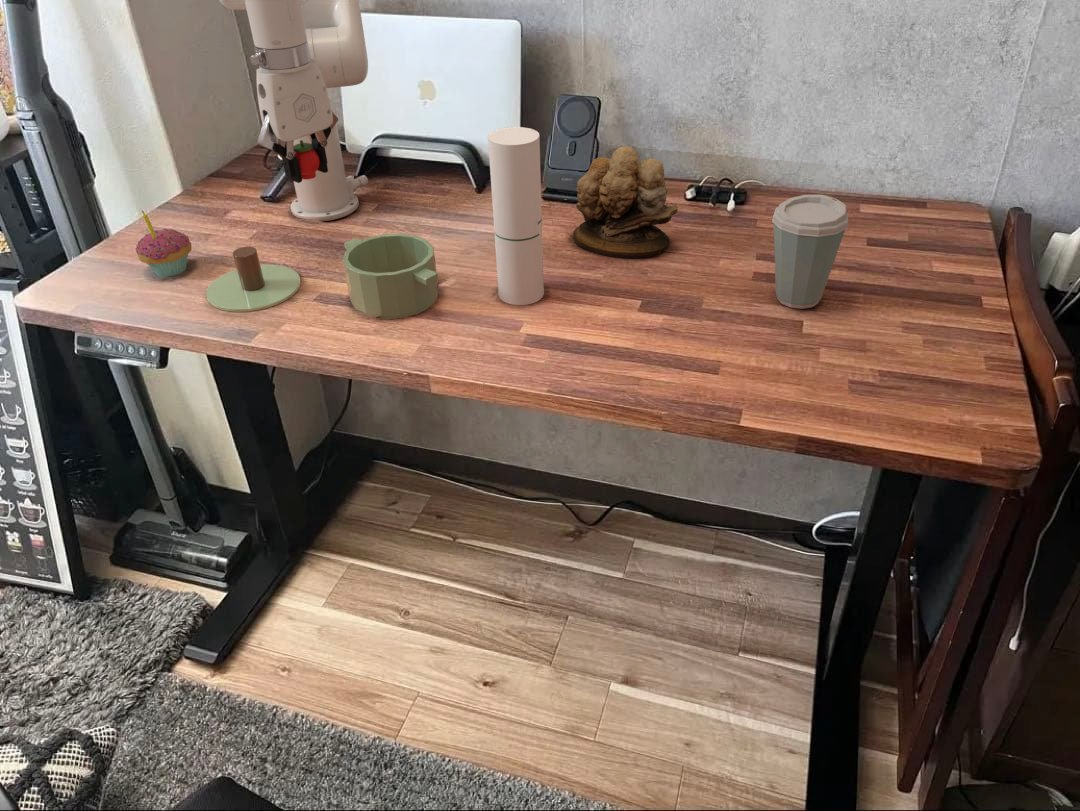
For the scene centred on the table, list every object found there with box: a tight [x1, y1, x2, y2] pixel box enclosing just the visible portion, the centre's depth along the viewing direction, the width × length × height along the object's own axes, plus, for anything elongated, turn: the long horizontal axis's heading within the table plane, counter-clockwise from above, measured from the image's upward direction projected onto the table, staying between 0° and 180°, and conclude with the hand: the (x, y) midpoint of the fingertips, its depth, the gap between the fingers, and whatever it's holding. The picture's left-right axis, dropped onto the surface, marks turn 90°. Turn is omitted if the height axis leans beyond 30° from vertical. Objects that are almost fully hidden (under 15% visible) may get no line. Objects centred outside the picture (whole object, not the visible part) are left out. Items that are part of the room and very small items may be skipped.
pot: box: [342, 233, 439, 320], centre depth 131 cm, size 14×19×8 cm
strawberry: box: [294, 140, 320, 180], centre depth 133 cm, size 4×4×6 cm
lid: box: [205, 246, 302, 313], centre depth 133 cm, size 15×15×7 cm
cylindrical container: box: [487, 126, 545, 306], centre depth 125 cm, size 7×7×25 cm
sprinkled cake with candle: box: [135, 209, 192, 278], centre depth 138 cm, size 9×8×12 cm
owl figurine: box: [572, 145, 679, 259], centre depth 140 cm, size 18×12×17 cm, turn 69°
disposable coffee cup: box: [771, 194, 849, 310], centre depth 125 cm, size 11×11×15 cm
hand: (307, 174), depth 135 cm, fingers closed on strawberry, 4 cm apart
